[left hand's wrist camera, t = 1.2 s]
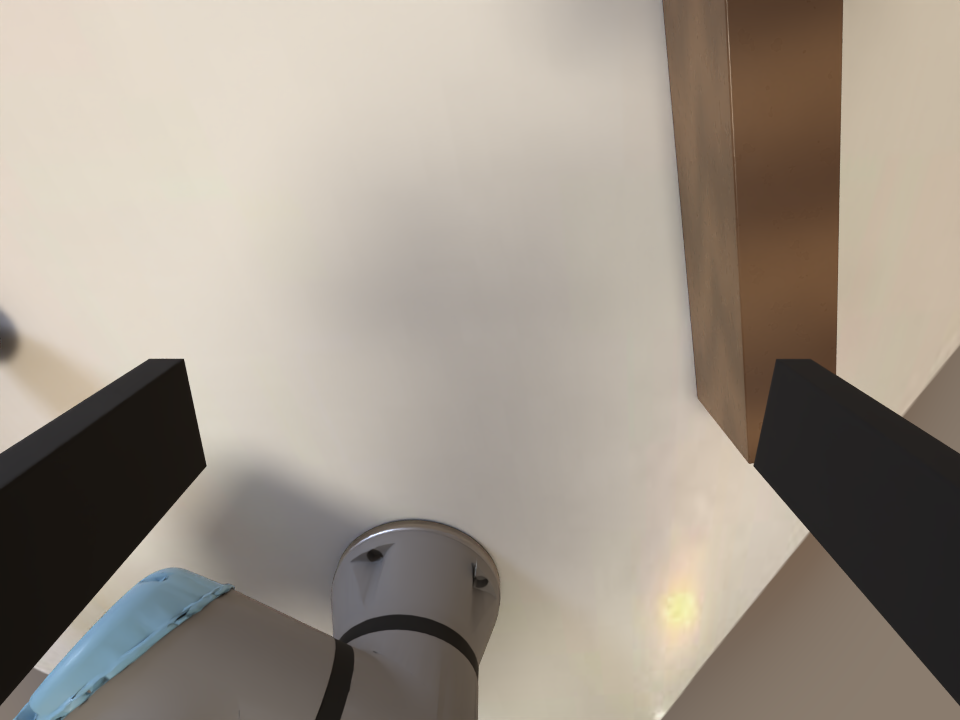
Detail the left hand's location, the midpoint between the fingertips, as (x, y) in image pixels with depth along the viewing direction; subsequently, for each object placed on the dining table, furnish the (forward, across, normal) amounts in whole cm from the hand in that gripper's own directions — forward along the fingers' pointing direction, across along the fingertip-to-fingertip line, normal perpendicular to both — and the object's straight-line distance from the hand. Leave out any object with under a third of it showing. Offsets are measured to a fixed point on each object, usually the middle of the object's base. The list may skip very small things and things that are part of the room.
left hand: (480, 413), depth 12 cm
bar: (+28, -16, -4) cm, 32 cm away
